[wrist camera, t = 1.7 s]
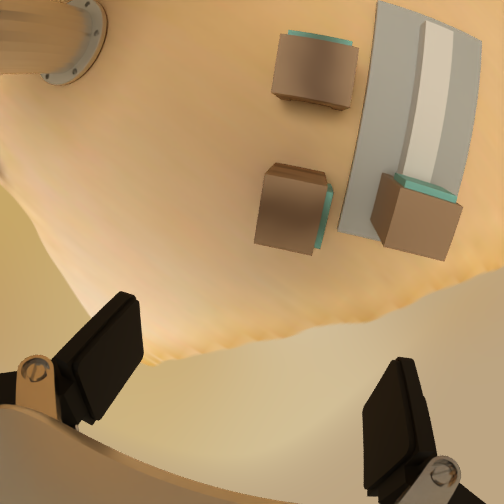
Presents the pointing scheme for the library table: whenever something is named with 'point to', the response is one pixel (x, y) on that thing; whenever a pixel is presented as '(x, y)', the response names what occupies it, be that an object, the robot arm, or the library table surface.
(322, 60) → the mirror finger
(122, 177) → the library table surface
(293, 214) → the block
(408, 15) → the rail board
